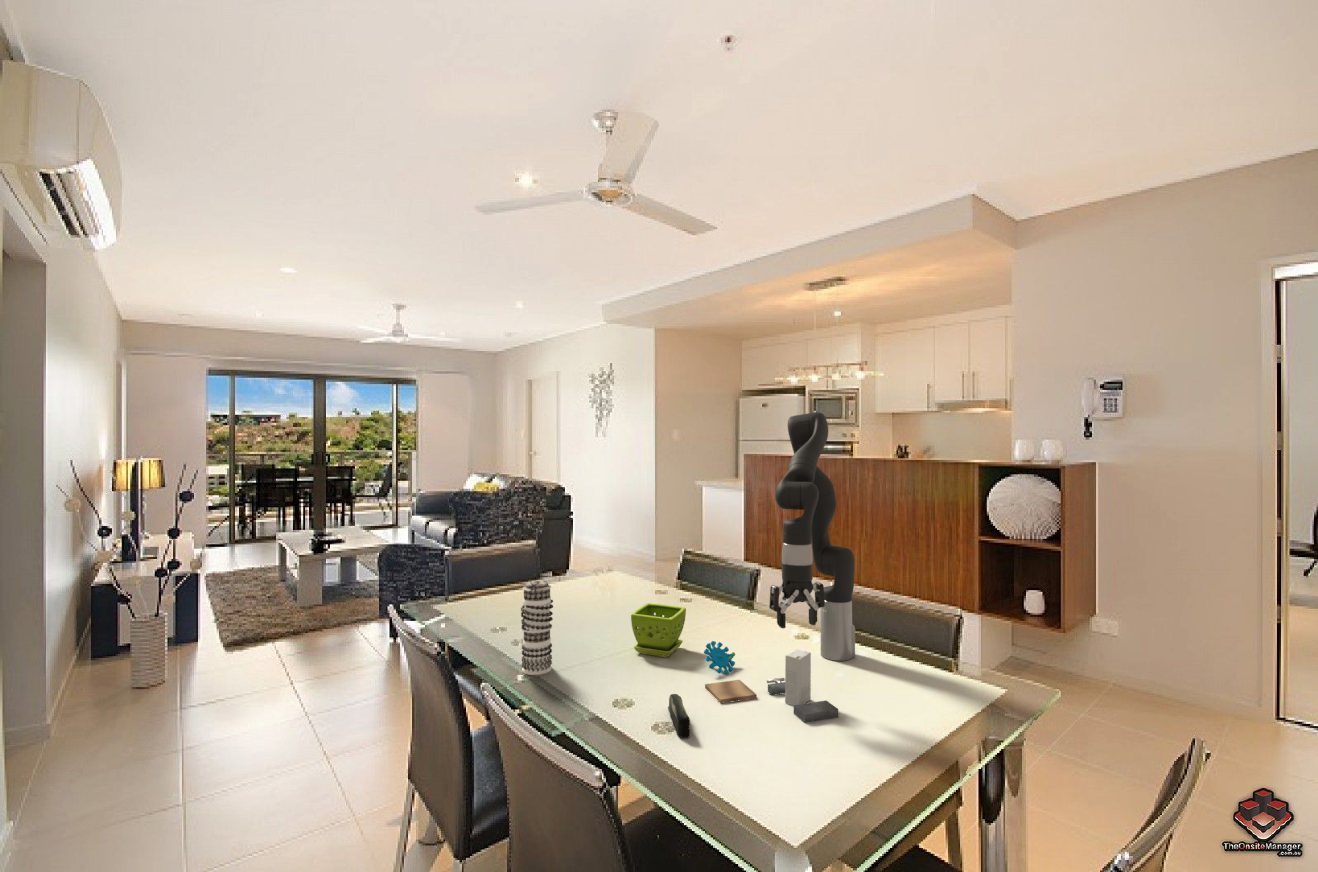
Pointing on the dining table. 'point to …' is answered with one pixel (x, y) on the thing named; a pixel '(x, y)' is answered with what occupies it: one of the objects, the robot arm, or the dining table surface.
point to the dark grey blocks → (805, 705)
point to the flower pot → (658, 628)
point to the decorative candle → (536, 628)
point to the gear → (719, 657)
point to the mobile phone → (679, 716)
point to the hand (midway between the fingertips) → (797, 626)
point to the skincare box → (798, 677)
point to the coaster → (730, 691)
